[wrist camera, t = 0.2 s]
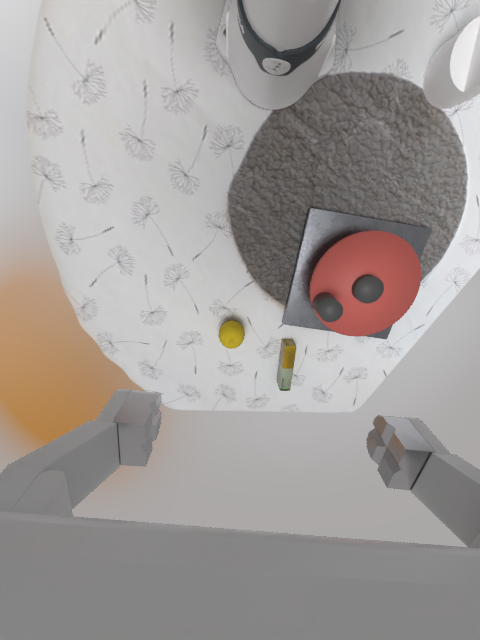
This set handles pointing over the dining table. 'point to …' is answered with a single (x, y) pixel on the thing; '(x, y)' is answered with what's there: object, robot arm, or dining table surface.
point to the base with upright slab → (455, 69)
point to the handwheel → (365, 283)
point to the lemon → (231, 334)
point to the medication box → (286, 364)
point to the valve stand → (318, 239)
